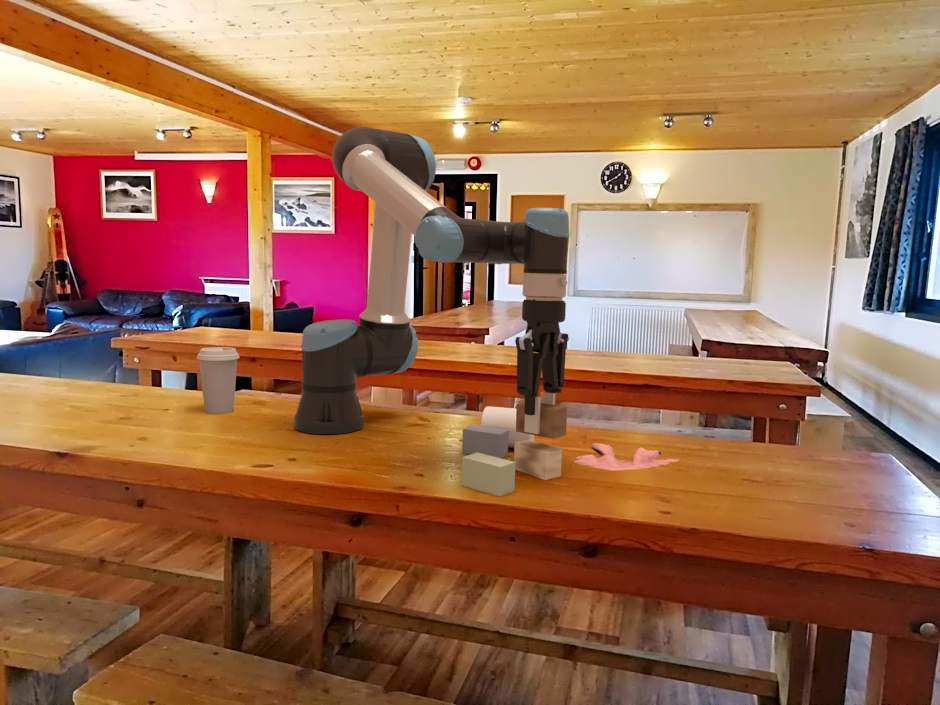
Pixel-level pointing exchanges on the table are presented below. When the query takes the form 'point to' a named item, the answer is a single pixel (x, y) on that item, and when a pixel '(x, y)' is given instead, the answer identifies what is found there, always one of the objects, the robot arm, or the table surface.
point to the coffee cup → (218, 378)
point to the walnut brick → (545, 420)
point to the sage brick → (488, 474)
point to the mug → (504, 423)
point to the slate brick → (485, 441)
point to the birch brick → (538, 459)
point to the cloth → (609, 461)
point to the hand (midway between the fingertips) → (539, 430)
